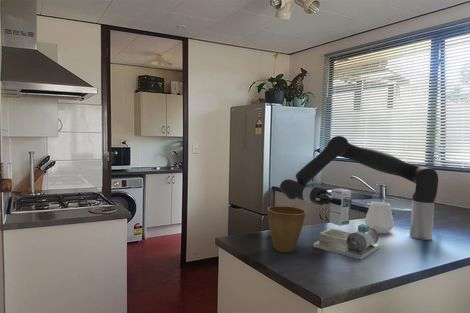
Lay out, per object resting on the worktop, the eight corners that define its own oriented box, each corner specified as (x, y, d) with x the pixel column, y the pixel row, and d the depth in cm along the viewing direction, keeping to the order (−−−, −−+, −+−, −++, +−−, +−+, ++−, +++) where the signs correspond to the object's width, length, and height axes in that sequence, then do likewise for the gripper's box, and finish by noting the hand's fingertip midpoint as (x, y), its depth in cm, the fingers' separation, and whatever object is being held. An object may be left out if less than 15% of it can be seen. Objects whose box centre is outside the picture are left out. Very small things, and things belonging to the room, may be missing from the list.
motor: (334, 237, 157) (335, 214, 157) (380, 248, 144) (381, 223, 144) (312, 246, 142) (314, 221, 142) (361, 259, 129) (363, 231, 128)
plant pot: (274, 257, 128) (276, 214, 127) (260, 244, 142) (262, 206, 141) (310, 255, 132) (313, 213, 131) (293, 243, 146) (295, 205, 145)
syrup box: (340, 226, 141) (343, 190, 140) (329, 222, 146) (331, 188, 145) (349, 224, 144) (351, 190, 144) (337, 221, 149) (340, 187, 148)
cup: (362, 231, 170) (364, 203, 169) (366, 226, 182) (367, 199, 181) (392, 236, 164) (394, 207, 163) (394, 230, 176) (396, 203, 175)
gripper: (304, 187, 152) (334, 194, 138) (326, 186, 160) (357, 192, 146) (303, 204, 153) (333, 212, 139) (325, 202, 161) (356, 209, 147)
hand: (345, 202), depth 143 cm, fingers closed on syrup box, 5 cm apart
